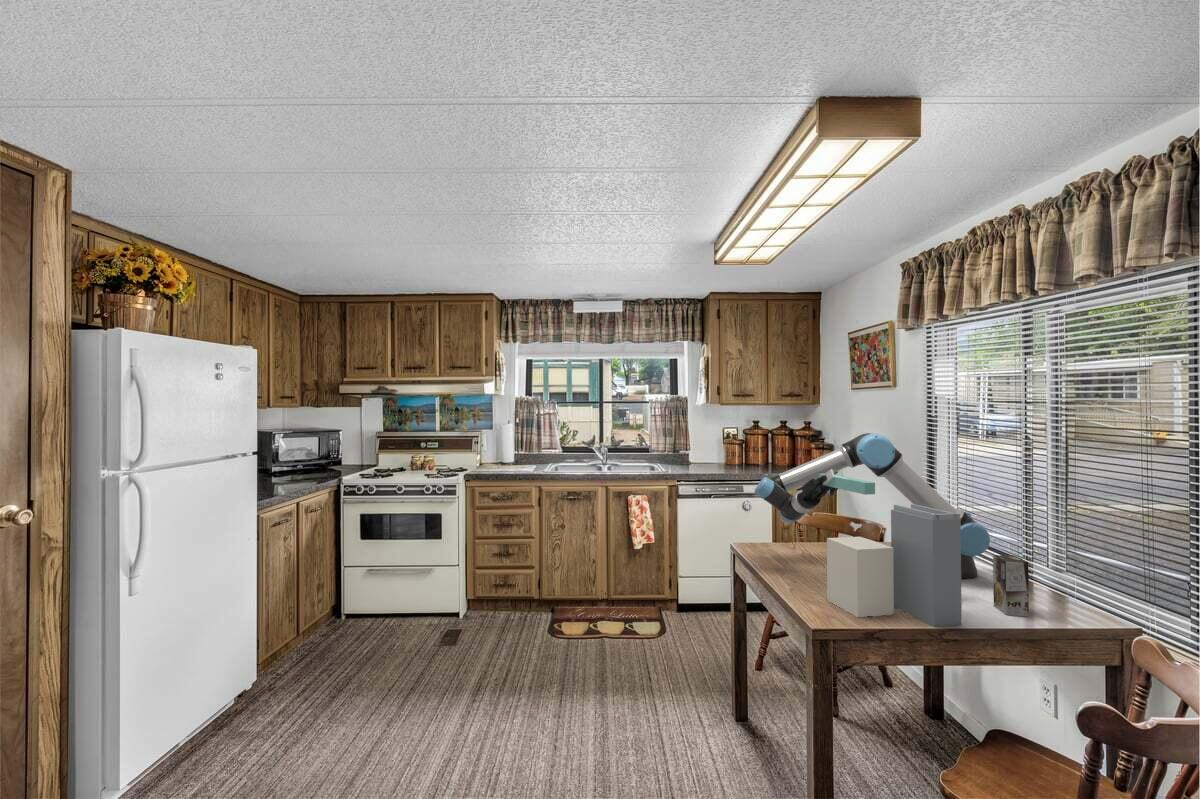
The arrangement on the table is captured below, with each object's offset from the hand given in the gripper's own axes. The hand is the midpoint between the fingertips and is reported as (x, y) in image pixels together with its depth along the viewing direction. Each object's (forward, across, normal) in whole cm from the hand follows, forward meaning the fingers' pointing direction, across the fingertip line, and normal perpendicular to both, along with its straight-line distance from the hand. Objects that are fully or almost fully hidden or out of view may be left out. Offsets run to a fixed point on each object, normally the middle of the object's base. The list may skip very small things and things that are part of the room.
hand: (838, 473), depth 200 cm
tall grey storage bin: (-2, -15, -45) cm, 48 cm away
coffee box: (-1, -43, -46) cm, 63 cm away
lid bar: (+1, 0, -6) cm, 6 cm away
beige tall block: (-11, 0, -40) cm, 42 cm away
